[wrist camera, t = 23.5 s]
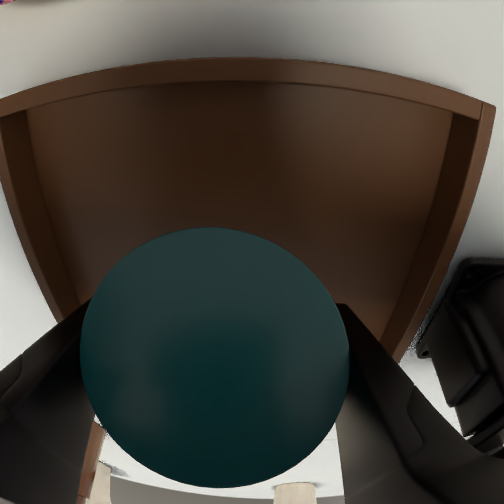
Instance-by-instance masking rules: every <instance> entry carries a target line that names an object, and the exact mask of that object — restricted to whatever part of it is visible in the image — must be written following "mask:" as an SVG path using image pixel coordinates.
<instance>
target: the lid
mask: <svg viewBox="0 0 504 504" xmlns="http://www.w3.org/2000/svg"><path fill="white" fill-rule="evenodd" d="M80 366H81V372H82V378H83V382H84V386H85V390H86V393H87V396H88V398H89V401H90V403H91V405H92V408H93V410H94V412H95V414H96V415H97V417H98V419H99V421H100V422H101V424H102V426H103V427H104V428H105V430H106V431H107V432H108V434H109V435H110V436H111V437H112V439H113V440H114V441H115V442H116V443H117V444H118V445H119V446H120V447H121V448H122V449H123V450H124V451H125V452H126V453H127V454H129V455H130V456H131V457H132V458H134V459H135V460H136V461H137V462H139V463H141V464H142V465H144V466H145V467H147V468H148V469H150V470H152V471H154V472H156V473H158V474H160V475H162V476H164V477H166V478H169V479H172V480H175V481H178V482H181V483H184V484H189V485H193V486H198V487H208V488H234V487H241V486H247V485H252V484H256V483H259V482H263V481H266V480H268V479H271V478H273V477H275V476H278V475H280V474H282V473H284V472H286V471H287V470H289V469H291V468H292V467H294V466H296V465H297V464H298V463H300V462H301V461H302V460H303V459H305V458H306V457H307V456H308V455H310V454H311V453H312V452H313V451H314V449H315V448H316V447H317V446H318V445H319V444H320V443H321V442H322V441H323V439H324V438H325V437H326V435H327V434H328V433H329V431H330V430H331V428H332V426H333V425H334V423H335V421H336V419H337V417H338V415H339V413H340V411H341V408H342V405H343V402H344V399H345V397H346V392H347V387H348V382H349V371H350V360H349V343H348V339H347V334H346V330H345V326H344V323H343V321H342V318H341V315H340V313H339V310H338V308H337V306H336V304H335V302H334V301H333V299H332V297H331V295H330V293H329V292H328V290H327V289H326V288H325V286H324V285H323V284H322V282H321V281H320V280H319V278H318V277H317V276H316V275H315V274H314V273H313V272H312V271H311V270H310V269H309V268H308V267H307V266H306V265H305V264H304V263H303V262H302V261H300V260H299V259H298V258H297V257H295V256H294V255H293V254H292V253H290V252H289V251H287V250H285V249H284V248H282V247H280V246H279V245H277V244H275V243H273V242H271V241H269V240H267V239H264V238H262V237H260V236H257V235H254V234H251V233H247V232H244V231H240V230H235V229H229V228H222V227H197V228H188V229H182V230H178V231H174V232H170V233H166V234H164V235H161V236H159V237H156V238H154V239H151V240H149V241H147V242H146V243H144V244H142V245H140V246H139V247H137V248H135V249H134V250H132V251H131V252H130V253H128V254H127V255H126V256H125V257H123V258H122V259H121V260H120V261H119V262H118V263H117V264H116V265H115V266H114V267H113V268H112V269H111V270H110V271H109V272H108V274H107V275H106V276H105V278H104V279H103V280H102V282H101V283H100V284H99V286H98V288H97V290H96V291H95V293H94V295H93V297H92V299H91V301H90V304H89V306H88V309H87V311H86V314H85V318H84V322H83V326H82V330H81V339H80Z"/></svg>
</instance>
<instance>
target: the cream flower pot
mask: <svg viewBox="0 0 504 504" xmlns="http://www.w3.org/2000/svg"><path fill="white" fill-rule="evenodd" d="M110 473H111V468H110V467H109V466H107V465H105V464H104V463H102V462H100V461H98V465H97V469H96V473H95V478H94V482H93V486H92V490H91V495H90V499H86V503H85V504H112V503H111V500H110Z"/></svg>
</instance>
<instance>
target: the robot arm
mask: <svg viewBox="0 0 504 504" xmlns="http://www.w3.org/2000/svg"><path fill="white" fill-rule="evenodd" d="M91 299H92V297H91V298H90V299H89V300H87V301H86V302H85V303H84V304H82V305H81V306H80V307H78V308H77V309H76V310H75V311H73V312H72V313H71V314H69V315H68V316H67V317H66V318H64V319H63V320H62V321H61V322H59V323H58V324H57V325H56V326H54V327H53V328H52V329H51V330H49V331H48V332H47V333H46V334H45V335H43V336H42V337H41V338H40V339H38V340H37V341H36V342H35V343H34V344H32V345H31V346H30V347H29V348H28V349H26V350H25V351H24V352H23V354H20V355H19V356H18V357H17V358H16V359H15V360H13V361H12V362H11V363H10V364H9V365H7V366H6V367H5V368H4V369H3V370H1V371H0V504H76V503H77V497H78V491H79V486H80V480H81V475H82V469H83V464H84V460H85V455H86V450H87V446H88V442H89V437H90V433H91V429H92V425H93V421H94V417H95V412H94V410H93V408H92V405H91V403H90V401H89V398H88V396H87V393H86V390H85V386H84V382H83V378H82V372H81V366H80V339H81V330H82V326H83V322H84V318H85V314H86V311H87V309H88V306H89V304H90V301H91ZM335 304H336V306H337V308H338V310H339V313H340V315H341V318H342V321H343V323H344V326H345V330H346V334H347V339H348V343H349V360H350V371H349V382H348V387H347V392H346V397H345V399H344V402H343V405H342V408H341V411H340V413H339V415H338V417H337V419H336V421H335V423H336V430H337V438H338V445H339V453H340V461H341V469H342V478H343V487H344V497H346V498H345V504H504V446H503V444H504V259H495V258H474V257H470V258H467V259H465V260H464V261H463V262H462V263H461V264H460V266H459V268H458V270H457V272H456V274H455V276H454V278H453V281H452V283H451V285H450V287H449V289H448V291H447V293H446V295H445V297H444V299H443V301H442V303H441V305H440V307H439V309H438V311H437V312H436V314H435V316H434V318H433V320H432V322H431V324H430V325H429V327H428V329H427V331H426V332H425V334H424V336H423V338H422V339H421V341H420V343H419V344H418V346H417V348H416V353H417V356H418V358H420V359H423V358H431V359H432V362H433V365H434V367H435V370H436V373H437V376H438V379H439V382H440V385H441V388H442V391H443V394H444V397H445V400H446V403H447V405H448V406H449V407H455V410H456V413H457V417H458V420H459V423H460V427H461V430H462V434H463V436H461V435H460V433H459V432H458V431H457V430H456V429H455V428H454V427H453V426H452V425H451V424H450V423H449V422H448V421H447V420H446V419H445V418H444V417H443V416H442V415H441V414H440V413H439V412H438V411H437V410H436V409H435V408H434V407H433V406H432V404H431V403H430V402H429V401H428V400H427V399H426V397H425V396H424V395H423V394H422V393H421V391H420V390H419V389H418V388H417V387H416V386H415V385H414V383H413V382H412V381H411V379H410V378H409V377H408V376H407V375H406V373H405V372H404V371H403V370H402V369H401V367H400V366H399V365H398V364H397V362H396V361H395V360H394V359H393V358H392V357H391V355H390V354H389V353H388V352H387V351H386V349H385V348H384V347H383V346H382V345H381V343H380V342H379V341H378V340H377V339H376V338H375V336H374V335H373V334H372V333H371V332H370V331H369V329H368V328H367V327H366V326H365V325H364V324H363V322H362V321H361V320H360V319H359V318H358V317H357V315H356V314H355V313H354V312H353V311H352V310H351V309H350V307H349V306H348V305H347V304H345V303H335ZM473 434H474V435H473ZM470 435H473V436H472V437H470V438H469V439H467V440H465V439H464V438H463V437H466V436H470Z"/></svg>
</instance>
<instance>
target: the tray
mask: <svg viewBox="0 0 504 504" xmlns="http://www.w3.org/2000/svg"><path fill="white" fill-rule="evenodd" d="M495 113H496V107H495V106H494V105H491V104H489V103H486V102H484V101H481V100H478V99H476V98H473V97H470V96H467V95H465V94H462V93H459V92H456V91H453V90H450V89H447V88H443V87H440V86H437V85H433V84H430V83H426V82H423V81H419V80H415V79H411V78H407V77H403V76H399V75H395V74H390V73H386V72H381V71H376V70H371V69H365V68H360V67H354V66H348V65H341V64H334V63H326V62H318V61H308V60H297V59H283V58H263V57H211V58H191V59H178V60H167V61H157V62H149V63H141V64H134V65H128V66H121V67H115V68H110V69H105V70H100V71H95V72H90V73H85V74H81V75H77V76H73V77H69V78H65V79H61V80H57V81H53V82H50V83H46V84H43V85H40V86H37V87H33V88H30V89H27V90H24V91H21V92H18V93H15V94H13V95H10V96H7V97H4V98H2V99H0V180H1V184H2V188H3V191H4V195H5V198H6V201H7V205H8V208H9V211H10V214H11V217H12V220H13V223H14V226H15V229H16V231H17V234H18V237H19V240H20V242H21V245H22V247H23V250H24V253H25V255H26V257H27V260H28V262H29V265H30V267H31V269H32V272H33V274H34V276H35V279H36V281H37V283H38V285H39V287H40V289H41V292H42V294H43V296H44V298H45V300H46V302H47V304H48V306H49V308H50V310H51V312H52V314H53V316H54V318H55V319H56V321H57V323H59V322H61V321H62V320H63V319H64V318H66V317H67V316H68V315H69V314H71V313H72V312H73V311H75V310H76V309H77V308H78V307H80V306H81V305H82V304H84V303H85V302H86V301H87V300H89V299H90V298H91V297H93V295H94V293H95V291H96V290H97V288H98V286H99V284H100V283H101V282H102V280H103V279H104V278H105V276H106V275H107V274H108V272H109V271H110V270H111V269H112V268H113V267H114V266H115V265H116V264H117V263H118V262H119V261H120V260H121V259H122V258H123V257H125V256H126V255H127V254H128V253H130V252H131V251H132V250H134V249H135V248H137V247H139V246H140V245H142V244H144V243H146V242H147V241H149V240H151V239H154V238H156V237H159V236H161V235H164V234H166V233H170V232H174V231H178V230H182V229H188V228H197V227H222V228H229V229H235V230H240V231H244V232H247V233H251V234H254V235H257V236H260V237H262V238H264V239H267V240H269V241H271V242H273V243H275V244H277V245H279V246H280V247H282V248H284V249H285V250H287V251H289V252H290V253H292V254H293V255H294V256H295V257H297V258H298V259H299V260H300V261H302V262H303V263H304V264H305V265H306V266H307V267H308V268H309V269H310V270H311V271H312V272H313V273H314V274H315V275H316V276H317V277H318V278H319V280H320V281H321V282H322V284H323V285H324V286H325V288H326V289H327V290H328V292H329V293H330V295H331V297H332V299H333V301H334V302H335V303H345V304H347V305H348V306H349V307H350V309H351V310H352V311H353V312H354V313H355V314H356V315H357V317H358V318H359V319H360V320H361V321H362V322H363V324H364V325H365V326H366V327H367V328H368V329H369V331H370V332H371V333H372V334H373V335H374V336H375V338H376V339H377V340H378V341H379V342H380V343H381V345H382V346H383V347H384V348H385V349H386V351H387V352H388V353H389V354H390V355H391V357H392V358H393V359H394V360H395V361H396V362H397V364H398V363H399V362H400V360H401V358H402V357H403V355H404V353H405V352H406V350H407V348H408V347H409V345H410V343H411V341H412V340H413V338H414V336H415V334H416V332H417V331H418V329H419V327H420V325H421V323H422V321H423V319H424V318H425V316H426V314H427V312H428V310H429V308H430V306H431V304H432V302H433V300H434V298H435V296H436V294H437V292H438V289H439V287H440V285H441V283H442V281H443V279H444V276H445V274H446V272H447V270H448V267H449V265H450V263H451V260H452V258H453V256H454V253H455V251H456V248H457V246H458V243H459V241H460V238H461V235H462V233H463V230H464V227H465V225H466V222H467V219H468V216H469V213H470V210H471V207H472V204H473V201H474V198H475V195H476V192H477V188H478V185H479V182H480V178H481V175H482V171H483V167H484V163H485V160H486V156H487V151H488V147H489V143H490V138H491V134H492V129H493V124H494V118H495Z"/></svg>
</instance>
